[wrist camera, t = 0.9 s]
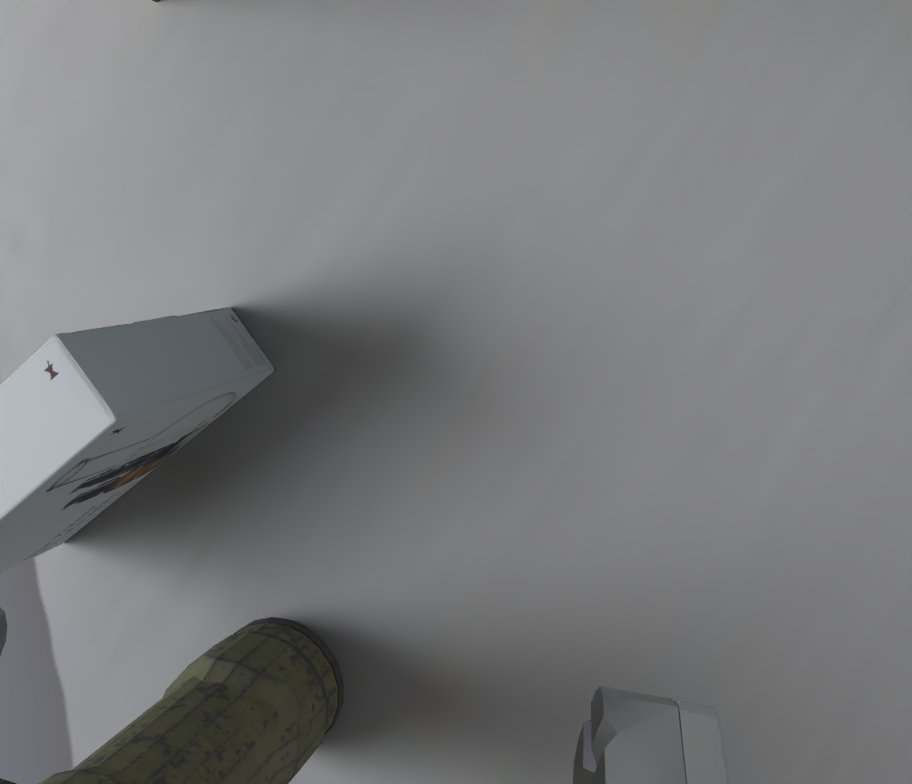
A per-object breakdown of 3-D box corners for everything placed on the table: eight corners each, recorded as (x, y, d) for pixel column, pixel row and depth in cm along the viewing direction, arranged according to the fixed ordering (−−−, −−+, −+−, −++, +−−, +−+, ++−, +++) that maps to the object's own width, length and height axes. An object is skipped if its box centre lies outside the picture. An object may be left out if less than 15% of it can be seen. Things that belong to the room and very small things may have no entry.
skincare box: (67, 552, 60) (-151, 650, 45) (22, 486, 60) (-210, 563, 45) (284, 375, 53) (114, 421, 38) (233, 303, 54) (44, 320, 38)
